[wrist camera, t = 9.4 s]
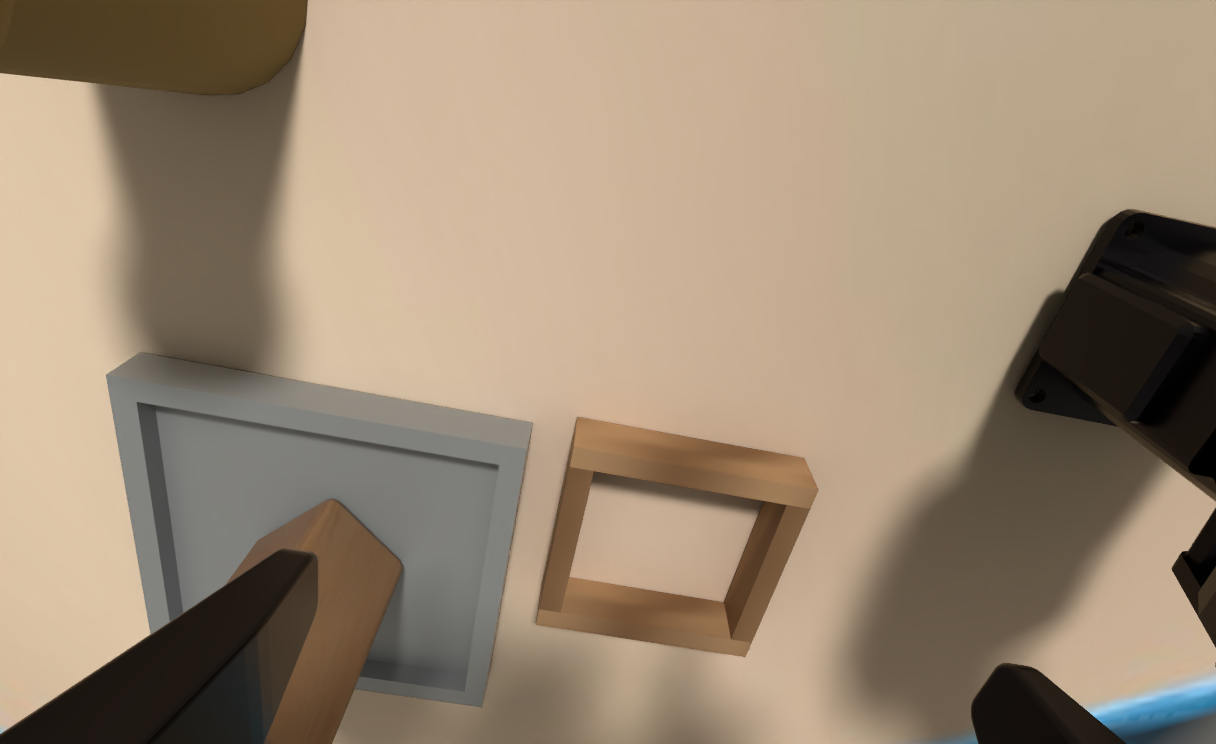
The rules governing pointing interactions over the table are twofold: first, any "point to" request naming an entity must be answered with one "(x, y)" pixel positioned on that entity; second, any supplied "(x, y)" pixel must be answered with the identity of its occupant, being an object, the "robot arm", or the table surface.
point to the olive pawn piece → (152, 42)
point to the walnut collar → (687, 466)
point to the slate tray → (312, 473)
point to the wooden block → (330, 617)
